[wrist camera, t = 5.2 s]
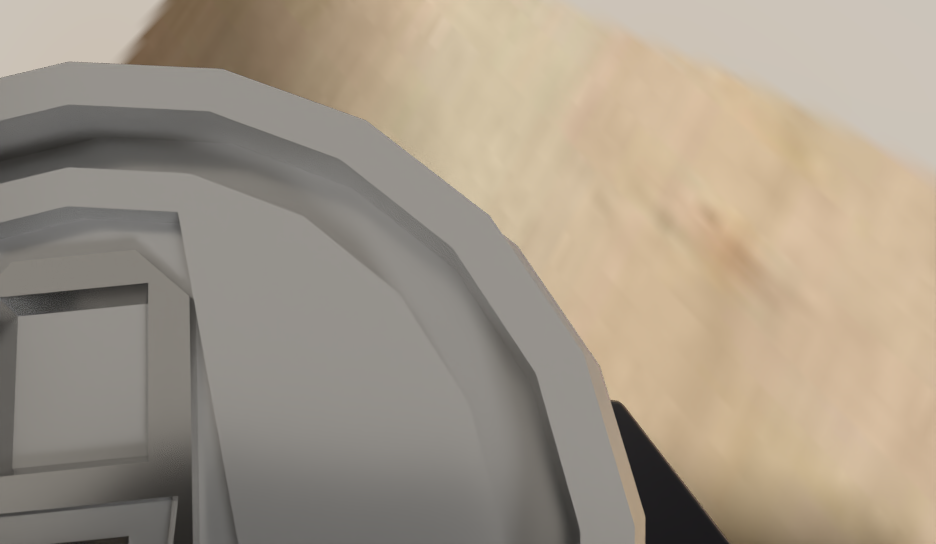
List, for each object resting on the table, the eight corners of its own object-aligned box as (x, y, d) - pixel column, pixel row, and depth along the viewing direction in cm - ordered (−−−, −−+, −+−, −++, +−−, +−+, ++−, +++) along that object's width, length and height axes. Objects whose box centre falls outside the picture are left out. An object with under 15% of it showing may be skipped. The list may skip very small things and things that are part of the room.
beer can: (224, 384, 16) (-470, 69, 4) (514, 356, 16) (602, -29, 4) (232, 703, 15) (-758, 1500, 3) (550, 670, 15) (815, 1329, 3)
